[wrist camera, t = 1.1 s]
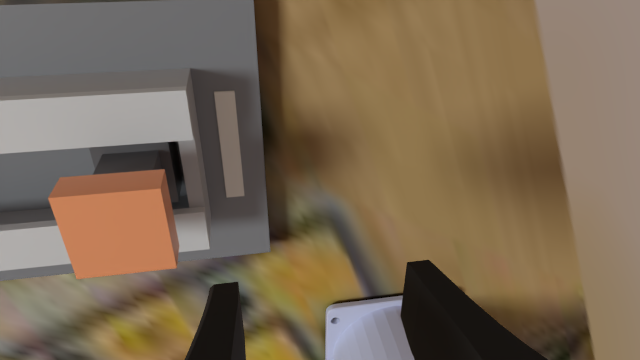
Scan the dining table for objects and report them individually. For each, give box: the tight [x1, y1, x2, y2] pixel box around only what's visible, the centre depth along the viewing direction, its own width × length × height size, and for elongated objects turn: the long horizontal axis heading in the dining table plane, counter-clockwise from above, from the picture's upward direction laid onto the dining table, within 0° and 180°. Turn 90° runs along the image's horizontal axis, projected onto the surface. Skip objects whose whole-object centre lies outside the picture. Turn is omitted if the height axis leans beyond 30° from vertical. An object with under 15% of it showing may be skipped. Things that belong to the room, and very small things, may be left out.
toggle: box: [48, 141, 182, 279], centre depth 17 cm, size 3×3×6 cm
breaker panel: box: [0, 0, 270, 281], centre depth 19 cm, size 12×16×3 cm
